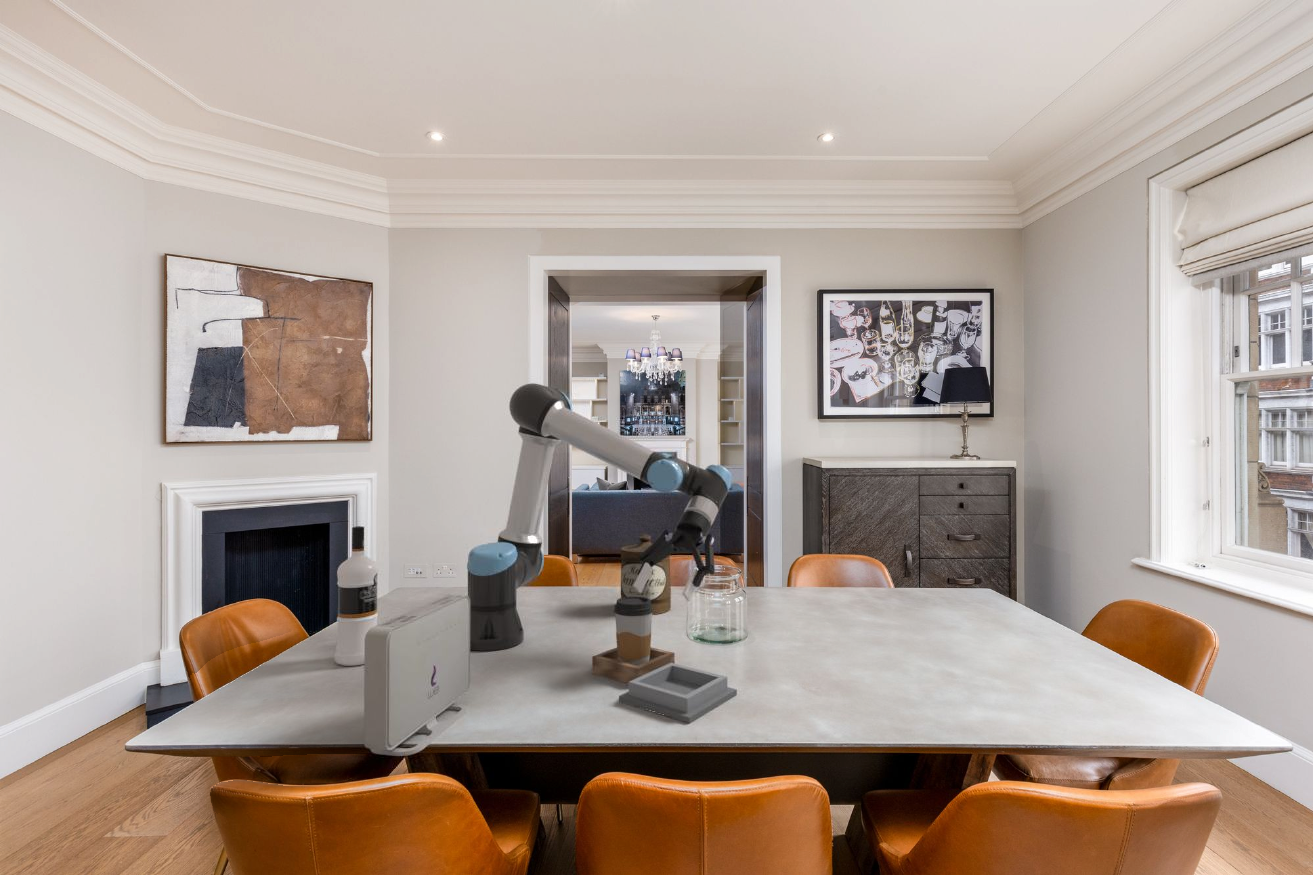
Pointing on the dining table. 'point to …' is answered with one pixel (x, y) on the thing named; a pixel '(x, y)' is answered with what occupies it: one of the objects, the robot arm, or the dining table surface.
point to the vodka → (355, 602)
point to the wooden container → (656, 583)
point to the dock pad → (678, 692)
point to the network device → (416, 674)
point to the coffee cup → (633, 629)
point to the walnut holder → (629, 665)
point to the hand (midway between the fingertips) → (660, 593)
